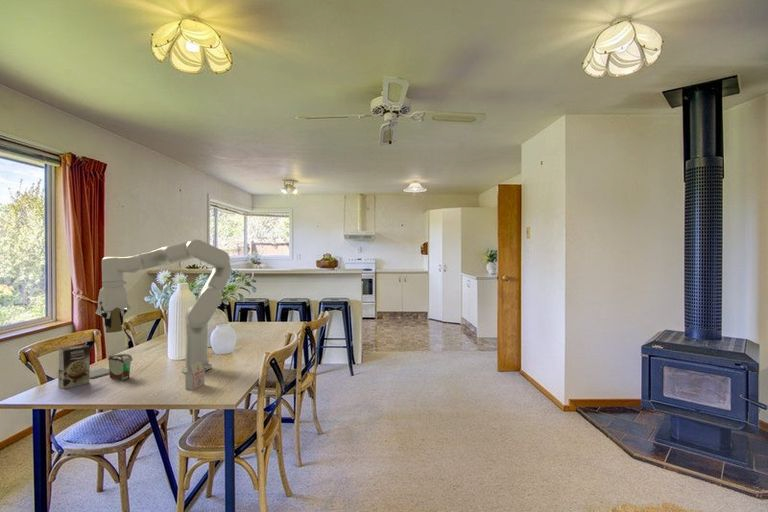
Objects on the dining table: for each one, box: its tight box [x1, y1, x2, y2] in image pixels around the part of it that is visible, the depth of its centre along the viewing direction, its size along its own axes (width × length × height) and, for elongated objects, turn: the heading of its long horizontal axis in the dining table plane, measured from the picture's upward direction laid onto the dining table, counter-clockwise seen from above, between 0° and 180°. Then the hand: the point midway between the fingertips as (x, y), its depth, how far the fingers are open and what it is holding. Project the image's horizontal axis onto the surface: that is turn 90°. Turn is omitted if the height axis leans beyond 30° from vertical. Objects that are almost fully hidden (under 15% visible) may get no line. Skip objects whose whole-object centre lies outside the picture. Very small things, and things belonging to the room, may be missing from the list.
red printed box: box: [184, 361, 206, 391], centre depth 155 cm, size 4×7×10 cm, turn 167°
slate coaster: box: [89, 367, 109, 380], centre depth 170 cm, size 10×10×1 cm
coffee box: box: [57, 344, 91, 390], centre depth 157 cm, size 9×6×16 cm
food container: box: [107, 353, 133, 382], centre depth 165 cm, size 12×6×10 cm, turn 65°
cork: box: [105, 308, 123, 334], centre depth 160 cm, size 6×6×11 cm
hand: (114, 325), depth 160 cm, fingers closed on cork, 4 cm apart
